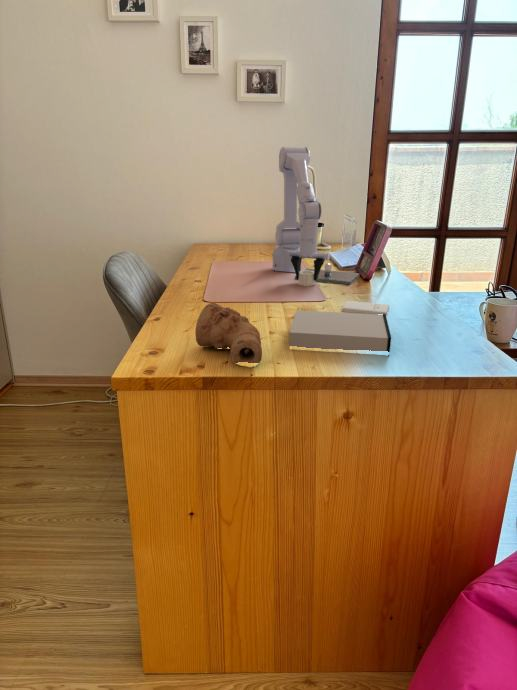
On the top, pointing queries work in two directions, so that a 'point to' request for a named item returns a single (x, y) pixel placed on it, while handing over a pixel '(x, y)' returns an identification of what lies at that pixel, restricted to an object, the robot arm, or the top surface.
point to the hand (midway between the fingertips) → (306, 279)
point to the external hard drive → (365, 307)
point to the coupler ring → (306, 278)
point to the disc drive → (340, 331)
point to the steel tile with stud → (335, 276)
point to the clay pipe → (229, 333)
